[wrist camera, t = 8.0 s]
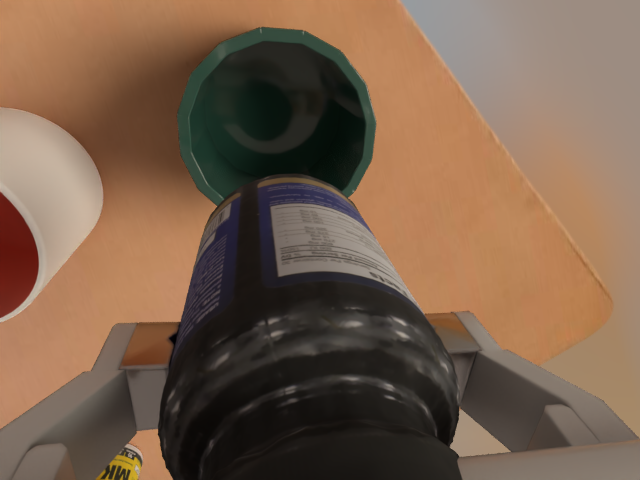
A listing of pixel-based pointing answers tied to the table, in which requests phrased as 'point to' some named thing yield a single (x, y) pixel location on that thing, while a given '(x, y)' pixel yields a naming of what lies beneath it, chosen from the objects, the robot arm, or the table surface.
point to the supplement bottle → (124, 465)
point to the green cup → (275, 114)
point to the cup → (40, 204)
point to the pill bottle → (304, 350)
